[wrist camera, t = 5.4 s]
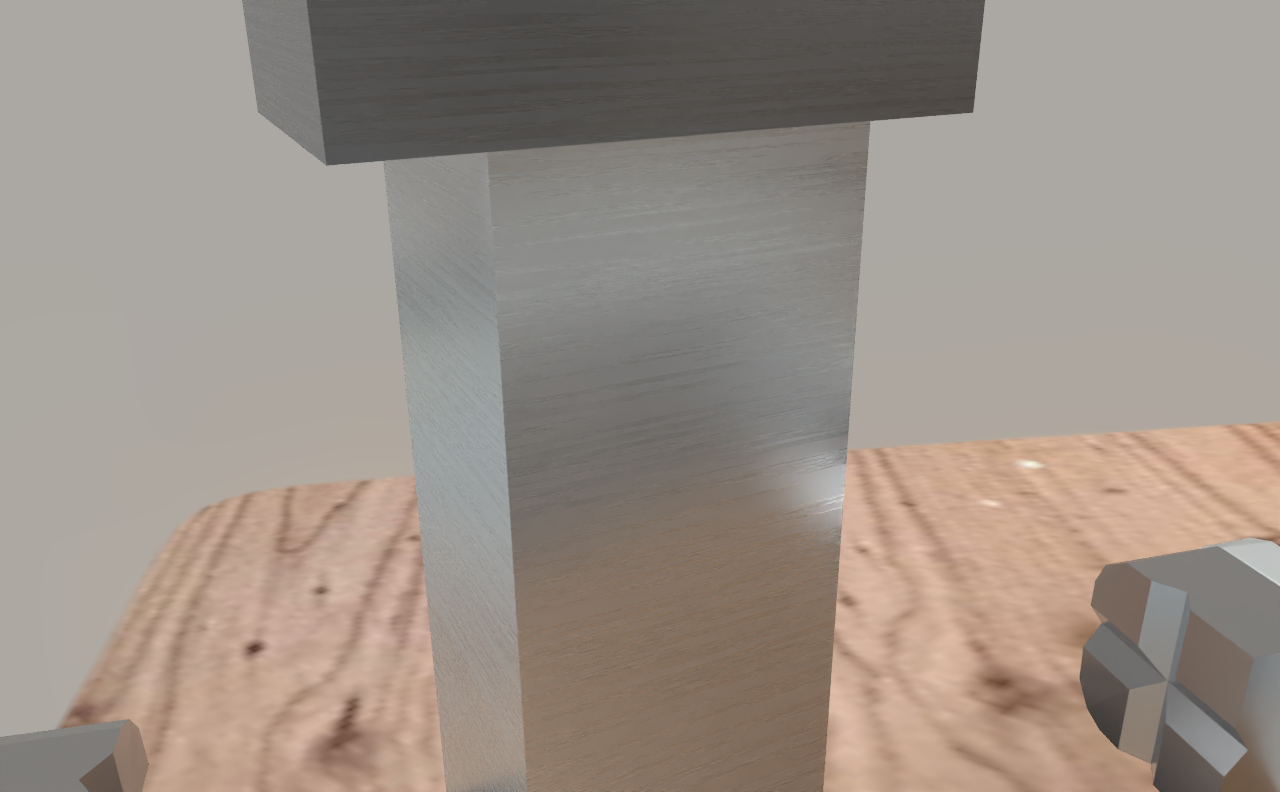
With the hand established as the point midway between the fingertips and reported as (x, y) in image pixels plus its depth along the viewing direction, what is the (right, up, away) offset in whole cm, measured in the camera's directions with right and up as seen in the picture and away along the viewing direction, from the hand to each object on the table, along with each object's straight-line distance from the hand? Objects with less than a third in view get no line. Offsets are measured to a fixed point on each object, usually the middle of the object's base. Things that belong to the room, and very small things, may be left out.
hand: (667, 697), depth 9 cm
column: (0, -13, +7) cm, 14 cm away
